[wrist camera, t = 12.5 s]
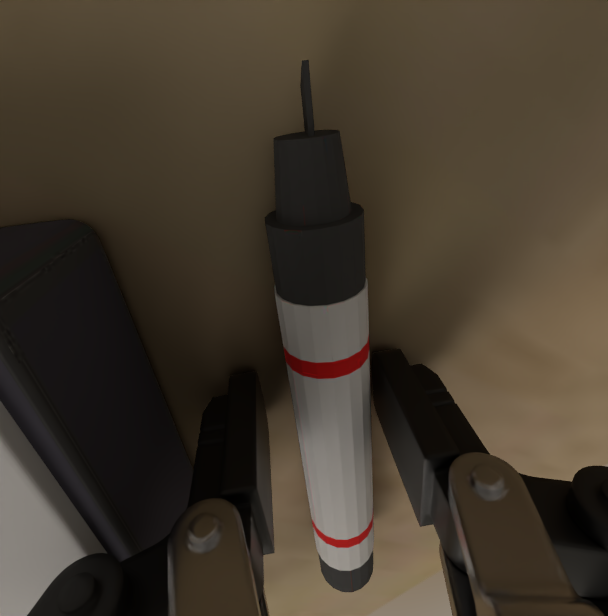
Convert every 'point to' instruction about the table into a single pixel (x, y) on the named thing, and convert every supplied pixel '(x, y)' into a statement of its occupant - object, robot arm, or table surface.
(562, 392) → the table surface
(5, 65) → the table surface
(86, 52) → the table surface
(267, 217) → the marker
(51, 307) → the calculator
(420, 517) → the robot arm
